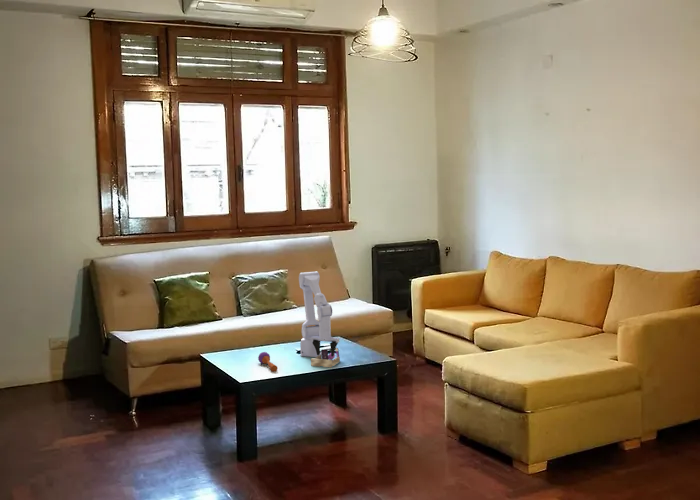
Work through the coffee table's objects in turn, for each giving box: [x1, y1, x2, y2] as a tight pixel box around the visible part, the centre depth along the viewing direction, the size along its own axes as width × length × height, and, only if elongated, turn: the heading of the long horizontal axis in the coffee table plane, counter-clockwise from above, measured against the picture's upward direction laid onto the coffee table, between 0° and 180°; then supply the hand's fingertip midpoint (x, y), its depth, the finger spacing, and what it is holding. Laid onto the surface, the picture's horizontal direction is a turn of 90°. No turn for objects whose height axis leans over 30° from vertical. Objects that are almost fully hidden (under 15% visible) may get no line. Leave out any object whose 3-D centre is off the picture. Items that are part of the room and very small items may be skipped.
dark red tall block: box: [320, 347, 340, 360], centre depth 391 cm, size 7×5×9 cm
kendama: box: [257, 351, 278, 372], centre depth 382 cm, size 6×6×20 cm
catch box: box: [310, 354, 341, 368], centre depth 385 cm, size 11×12×4 cm
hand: (325, 355), depth 385 cm, fingers open, 7 cm apart
